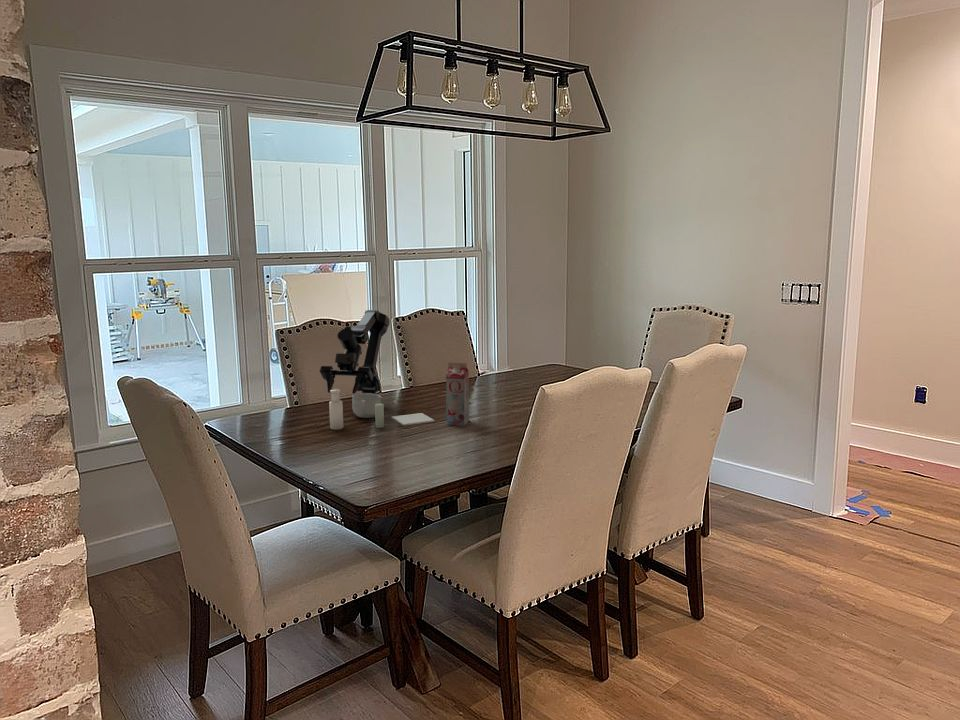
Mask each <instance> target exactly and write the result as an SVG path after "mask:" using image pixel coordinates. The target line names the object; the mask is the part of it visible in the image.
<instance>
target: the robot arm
mask: <svg viewBox="0 0 960 720" xmlns="http://www.w3.org/2000/svg"><path fill="white" fill-rule="evenodd" d="M390 324H391V323H390V317H388V316H387V314H385V313H382V312H380V311H379V310H378V309H377V310H376V309H367V310H365V312H364V314H363V316H362V317H361V319H360V320H359V322H358V323H357V325H353V326H347V325H346V326H345V327H344V328H343V329H340V330H339V332H338V333H337V338H338V341H339V342H340V345H341V347H342V348H343V349H344V352H343V353H342V352H341V353H339V352H338V353H336V354H335V359H334V363H335V364H337V368H339V369H337V368H336V369H335V368H333V366H332V365H321V366H320V368H319V373H320V374H321V377H322V378H323V380H325V381H326V384H327V393H328V394H331V392H330V390H332V389H333V385H334V383H335V378H336V376H345V377H355V378H354V385H353V388H352V392H351V393H352V395H354V394H357V392H361V393H371V394H377V393H378V392H381V391H382V383H381V381H380V379H379V375H378V373H377V370H376V366H377V362H378V356H379V352H380V348H381V341H382V337H384V335H385V334H386V333H387V331H388V328H389V326H390ZM366 344H367V347H366V351H365V356H364V357H365V358H364V361H363V365H361V366H359V358H360V356H361V355H362V354H363V351H362V346H361V345H366ZM357 367H358V368H357Z"/></svg>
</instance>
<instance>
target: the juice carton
mask: <svg viewBox="0 0 960 720" xmlns="http://www.w3.org/2000/svg"><path fill="white" fill-rule="evenodd" d="M445 379H446V380H445V381H446V382H445V384H446V385H445V388H446V389H445V390H446V391H445V392H446V393H445V396H446V397H445V399H446V402H445V403H446V407H445V408H446V425H449V426H466V425H467V424H468V423H469V421H470V418H469V416H470V411H469V410H470V408H469V405H470V402H469V399H470V398H469V393H470V392H469V389H470V388H469V382H470V381H469V368H468V366H467V362H448V363H447V369H446V372H445ZM465 424H466V425H465Z"/></svg>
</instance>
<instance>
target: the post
mask: <svg viewBox="0 0 960 720" xmlns="http://www.w3.org/2000/svg"><path fill="white" fill-rule="evenodd" d="M384 407H385V405H384V403H381V404H375V417H374V418H375V419H374V420H375V428H376V429H377V428H379V429H381V428H384V427H385V416H384V415H385V414H384V413H385V412H384Z"/></svg>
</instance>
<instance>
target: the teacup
mask: <svg viewBox="0 0 960 720" xmlns="http://www.w3.org/2000/svg"><path fill="white" fill-rule="evenodd" d="M351 396H352V397H351V398H352V399H351V401H352V404H351V405H352V412H353V413H354V414H355V416H356V417H358V418H361V419H364V418H366V419H368V418H369V419H370V418H375V404H382V395H381V394H377V393H376V394H371V393H362V392H361V393H355V394H352V395H351Z"/></svg>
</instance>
